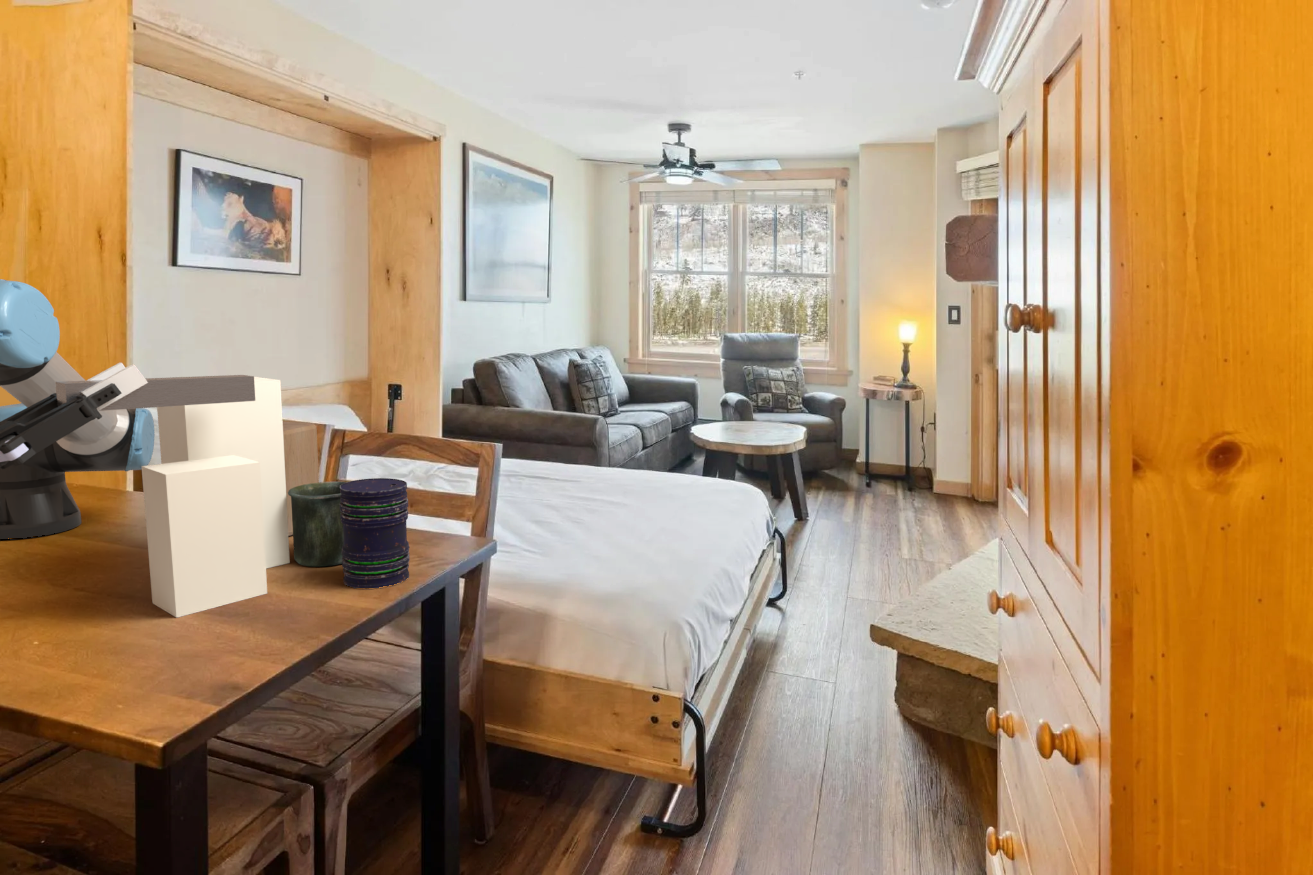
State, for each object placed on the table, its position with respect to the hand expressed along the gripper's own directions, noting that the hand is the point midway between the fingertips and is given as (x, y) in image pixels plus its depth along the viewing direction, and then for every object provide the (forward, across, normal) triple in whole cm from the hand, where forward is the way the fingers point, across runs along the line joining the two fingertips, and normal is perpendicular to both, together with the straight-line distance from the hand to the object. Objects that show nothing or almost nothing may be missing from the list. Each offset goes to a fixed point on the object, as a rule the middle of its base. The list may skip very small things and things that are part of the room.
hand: (133, 372), depth 97 cm
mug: (+9, -5, -43) cm, 44 cm away
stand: (-3, -12, -36) cm, 38 cm away
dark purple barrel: (+8, +10, -42) cm, 44 cm away
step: (-10, 0, -32) cm, 33 cm away
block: (+11, -27, -44) cm, 53 cm away
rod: (+1, 0, -6) cm, 6 cm away
